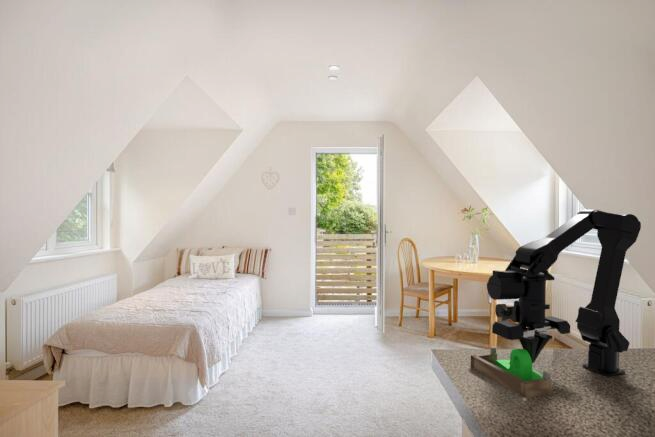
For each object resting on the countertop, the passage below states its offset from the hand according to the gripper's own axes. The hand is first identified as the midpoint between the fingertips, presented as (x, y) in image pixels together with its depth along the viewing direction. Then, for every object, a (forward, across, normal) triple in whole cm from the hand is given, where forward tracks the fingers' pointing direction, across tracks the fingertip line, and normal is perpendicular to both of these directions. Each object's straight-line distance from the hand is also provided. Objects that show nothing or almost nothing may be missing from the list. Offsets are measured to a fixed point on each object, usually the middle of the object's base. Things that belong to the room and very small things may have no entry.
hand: (530, 362), depth 94 cm
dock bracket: (+3, +7, 0) cm, 7 cm away
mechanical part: (+4, +3, 0) cm, 5 cm away
